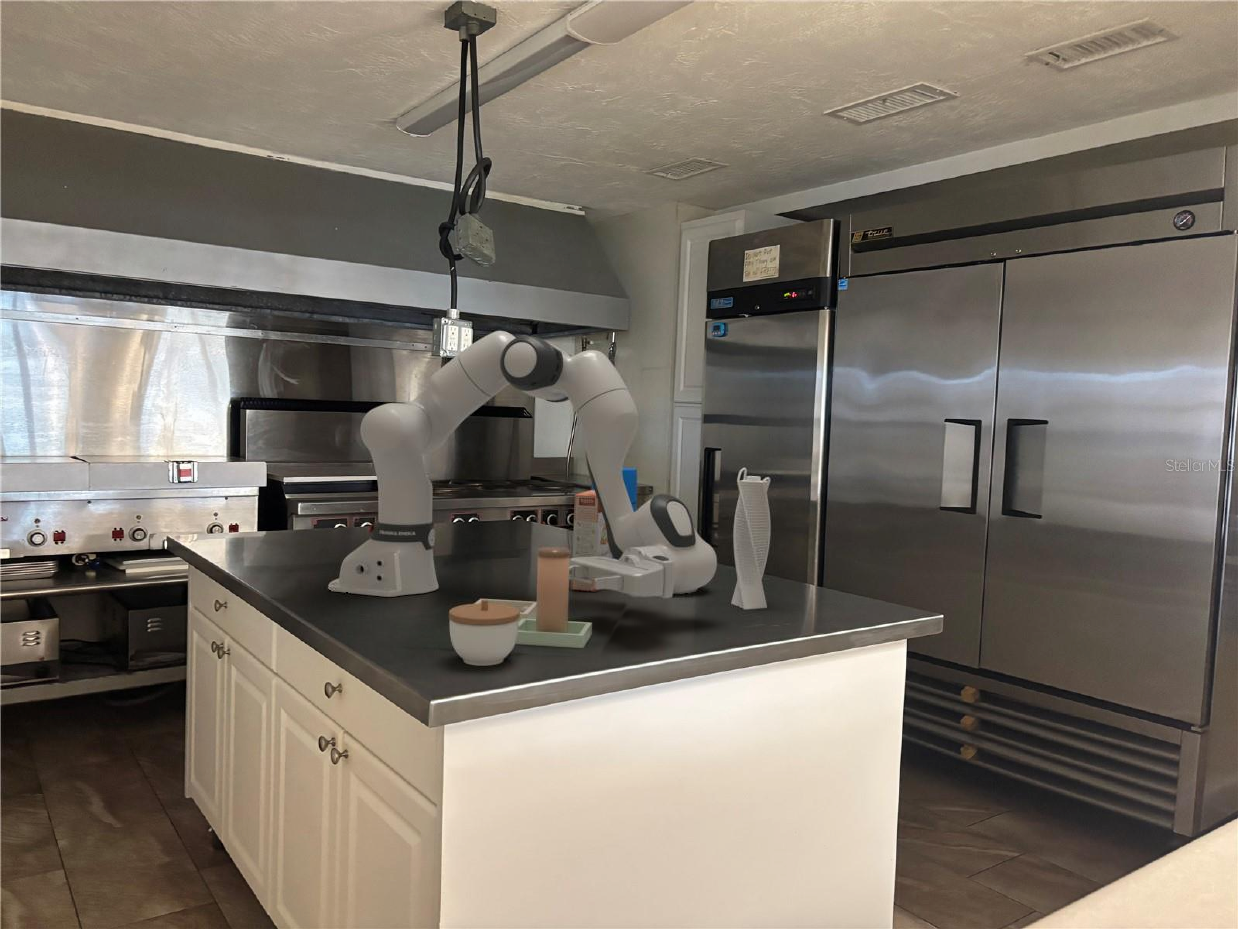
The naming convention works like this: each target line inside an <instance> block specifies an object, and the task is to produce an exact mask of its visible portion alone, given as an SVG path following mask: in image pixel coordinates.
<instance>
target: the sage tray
mask: <svg viewBox="0 0 1238 929" xmlns="http://www.w3.org/2000/svg"><path fill="white" fill-rule="evenodd" d="M592 628H593V622H588V621H585V622H584V621H571V620H570V621H569V620H568V632H567V633H553V632H536V619H521V620H520V621H519V627H518V635H517V639H516V643H515V645H525V646H539V647H541V646H542V647H557V648H571V649H573V648H574V649H584V648H585V646H586V644H587V643H588V641H589V639H590V638H591V636H592V633H593V629H592Z"/></svg>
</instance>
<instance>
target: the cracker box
mask: <svg viewBox="0 0 1238 929" xmlns="http://www.w3.org/2000/svg"><path fill="white" fill-rule="evenodd" d="M573 507H574V509H573V534H572V535H573V538H572V558H576V557H594V556H599V557H608V558H612V554H611V552H610V549H609V545H608V539H607V529H606V525H605V521H604V518H603V515H602V512H601V508H600V505H599V502H598V499H597V496H596V493H595V490H592V489H590V490H587V491H583V492H580V493H576V494H574V506H573ZM570 583H571V590H572V591H579V590H581V591H580V592H589V591H591V592H592V593H596V592H597V591H599V590H598V589H594V588H592V587H591V584H590V583H586V582H583V581H579V580H575V579H572V580H571V582H570Z"/></svg>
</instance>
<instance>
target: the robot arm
mask: <svg viewBox="0 0 1238 929" xmlns="http://www.w3.org/2000/svg"><path fill="white" fill-rule="evenodd" d="M507 386H512V387H513V388H514V389H517V390H519V391H521V392H523V393H524V394H526V395H528V396H530V397H533V398H537V399H541V400H544V401H546V402H550V403H562V402H563V403H564V402H567V401H569V402H570V403H571V405H572V407H573V409H574V411H575V414H576V416H577V418H578V421H579V423H580V425H581V426H580V427H581V428H582V434H583V436H584V442H585V451H586V452H585V455H586V456H585V458H586V460H585V461H586V467H587V471H588V474H589V477H590V481H591V485H592V484H593V487H594V490H595V493H596V496H597V499H598V502H599V505H600V508H601V512H602V515H603V518H604V521H605V525H606V529H607V539H608V545H609V549H610V552H611V554H612V555H613V557H614V558H615V559H612V558H608V557H599V556H594V557H576V558H573V557H572V558H570V561H569V581H572V579H575V580H579V581H583V582H586V583H590V584H591V587H592V588H594V589H598V590H597V591H599V590H612V591H616V592H619V593H622V594H627V595H628V596H630V597H631V598H633V599H635V598H636V599H637V598H650V597H651V598H652V597H653V598H659V599H670V598H672V597H673V595H674V594H673V593H676V592H683V591H688V590H692V589H696V588H702V587H703V586H705V585H707V584H708V583H710V581H711V580H712V579H713V578H714V576H715V574H716V571H717V567H718V561H717V560H718V557H717V554H716V552H715V549H714V548H713V547H712V546H711V544H709V543H707V542H706V541H705V540H704V539H703V538H702V537H701V536H700V535H699V534H698V532H697V529H696V528H695V526H694V524H693V518H692V515H691V513H690V511H689V509H688V507H687V506H686V504H685V503H684V502H683V501H682V500H680V499H679V498H678V497H676V496H673V495H671V494H668V493H659V494H656V495H654V496H653V497H652V498H650V499H649V500H648V501H646V502H644V504H642V505H641V506H640V507H639V508H638V509H636V511H635V512H634V511H633V508H632V505H631V502H630V499H629V496H628V493H627V490H626V487H625V484H624V481H623V476H622V469H623V468H624V462H625V459H626V456H627V453H628V451H629V449H630V447H631V445H632V444H633V441H634V439H635V438H636V436H637V432H638V429H639V424H640V419H639V418H640V417H639V413H638V409H637V405H636V403H635V400H634V398H633V397H632V395H631V393H630V390H629V388H628V387H627V386H626V383H625V382H624V380H623V378H622V377H621V374H620V373H619V371H618V370H617V368H616V367H615V366H614V364H613V363H612V361H611V360H610V359H609V358H608V357H607V356H606V354H604V353H603V352H602V351H600V350H595V349H590V350H585V351H584V350H583V351H581V352H578V353H577V354H574V355H572V354H570V353H567V351H565V350H564V349H562V348H561V347H559V346H558V345H555V344H553V343H549V342H547V341H546V340H544V339H542V338H539V337H535V336H529V335H528V336H527V335H522V336H518V337H515V336H514V335H513V334H511V333H509V332H508V331H503V330H496V331H494V332H491V333H489V334H488V335H485V336H483V337H482V338H480V339H479V340H477V341H475V342H473V343H472V344H470V345H469V346H467V347H466V348H465V349H463V350H462V351H460V353H458V354H457V355H456V356H454V357H453V358H452V359H451V360H450V361H449V362H447V363H446V364H444V365H443V366H441V368H440V369H438V370H437V371H436V372H434V373H433V374H432V375H431V376H430V377H429V379H428V383H427V384H426V386H425V387H424V389H423V390H422V391H421V392H420V393H419V395H418V396H417V397H414V399H412V400H410V401H408V402H405V403H402V402H401V403H399V402H391V403H389V402H388V403H384V404H382V405H379V406H376V407H374V408H372V409H370V410H369V411H367V413H366V414H365V415H364V416H363V419H362V421H361V424H360V430H359V431H360V432H359V433H360V436H361V440H362V442H363V444H364V446H365V447H366V448H367V449H368V451H369V453H370V455H371V459H372V462H373V467H374V470H375V471H374V472H375V474H376V480H377V487H378V490H377V492H378V496H377V498H378V499H377V500H378V503H377V504H378V505H377V506H378V508H377V509H378V510H377V512H378V520H377V521H374V523H372V524H371V525H369V526H367V527H366V533H369V539H368V540H367V541H366V540H365V542H364V543H362V544H361V545H360V546H359V547H357V548H355V550H353V551H352V552H350V553H348V555H347V556H346V557H345V558H343V561H342V562H341V566H340V570H339V577H338V578H336V579H333V580H332V581H330V582H329V584H328V585H327V590H328V589H329V590H331V591H330V592H338V593H339V592H340V593H346V592H348V593H347V594H349V593H350V594H357V595H367V596H378V597H385V598H386V597H388V598H391V597H398V596H405V595H417V594H425V593H429V592H434V591H436V590H438V589H439V587H440V586H439V583H438V579H437V574H436V569H435V560H434V553H433V552H434V550H433V549H434V545H435V536H436V535H435V523H434V521H433V483H432V481H431V480H430V479H429V477H428V475H427V470H426V466H425V462H424V456H423V455H427V454H431V453H433V452H434V451H436V450H438V449H440V447H442V446H443V445H445V443H446V442H447V440H448V438H449V436H451V434H453V433H454V431H456V429H457V428H458V427H459V426H460V425H461V424H462V422H464V420H466V419H467V418H468V417H469V416H470V415H472V414H474V412H475V411H477V410H478V409H479V408H481V407H482V406H484V404H486V403H487V402H488V401H490V399H492V398H494V396H496V395H497V394H498V393H500V392H501V391H502V390H504V389H505V388H506V387H507ZM329 590H328V591H329Z"/></svg>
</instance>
